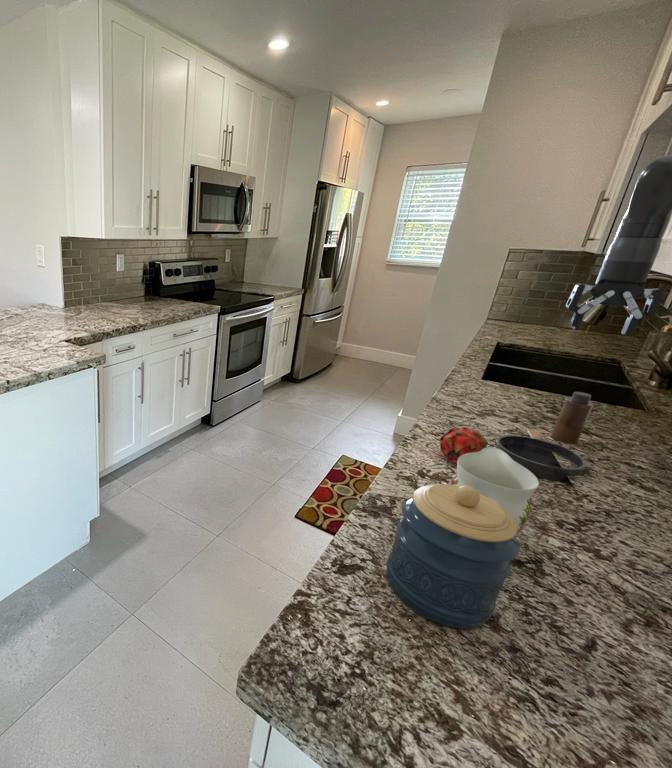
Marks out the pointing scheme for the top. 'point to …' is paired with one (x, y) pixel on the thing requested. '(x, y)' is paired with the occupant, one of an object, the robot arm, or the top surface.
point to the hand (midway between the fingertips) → (599, 331)
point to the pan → (540, 456)
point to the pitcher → (498, 481)
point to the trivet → (537, 435)
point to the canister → (452, 555)
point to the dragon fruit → (461, 443)
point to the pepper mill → (572, 418)
